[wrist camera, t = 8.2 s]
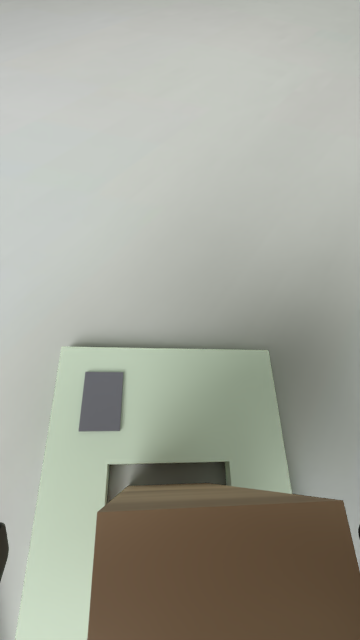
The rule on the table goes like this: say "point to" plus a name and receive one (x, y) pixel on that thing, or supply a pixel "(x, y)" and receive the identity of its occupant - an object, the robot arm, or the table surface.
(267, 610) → the post
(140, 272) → the table surface
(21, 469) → the table surface
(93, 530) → the flange plate
